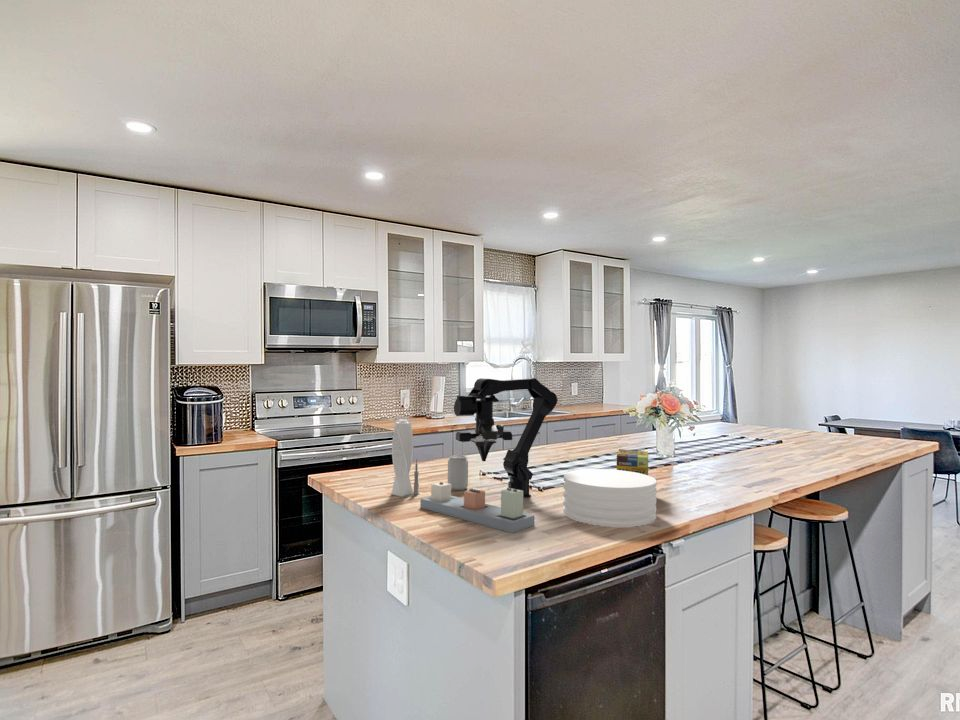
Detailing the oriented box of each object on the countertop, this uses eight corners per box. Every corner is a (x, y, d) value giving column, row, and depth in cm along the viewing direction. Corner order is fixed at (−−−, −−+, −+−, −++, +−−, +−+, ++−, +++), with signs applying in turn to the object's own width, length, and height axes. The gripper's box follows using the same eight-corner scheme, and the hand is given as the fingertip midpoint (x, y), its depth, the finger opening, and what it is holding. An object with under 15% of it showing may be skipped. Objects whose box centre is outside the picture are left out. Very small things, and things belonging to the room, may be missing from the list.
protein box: (615, 500, 185) (616, 455, 185) (618, 491, 200) (618, 448, 200) (647, 503, 182) (648, 457, 182) (647, 493, 197) (648, 450, 197)
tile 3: (463, 514, 164) (464, 489, 164) (473, 511, 167) (474, 487, 167) (474, 517, 161) (475, 492, 161) (484, 514, 164) (485, 489, 164)
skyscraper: (402, 499, 184) (403, 417, 185) (386, 495, 189) (387, 415, 190) (419, 495, 191) (420, 415, 191) (403, 491, 196) (404, 413, 196)
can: (465, 491, 196) (465, 458, 196) (445, 490, 198) (445, 457, 198) (469, 487, 203) (470, 454, 203) (450, 485, 205) (450, 454, 205)
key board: (420, 507, 173) (420, 498, 173) (443, 502, 180) (443, 493, 180) (512, 533, 148) (512, 522, 148) (534, 525, 155) (534, 515, 155)
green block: (500, 515, 154) (501, 488, 154) (510, 512, 158) (511, 486, 158) (513, 518, 151) (513, 491, 151) (523, 515, 155) (523, 488, 155)
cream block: (431, 506, 174) (431, 482, 174) (441, 503, 177) (441, 480, 177) (440, 508, 171) (441, 484, 171) (450, 505, 174) (451, 482, 174)
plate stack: (545, 513, 169) (545, 476, 169) (595, 498, 188) (596, 465, 188) (625, 534, 149) (625, 492, 149) (672, 515, 168) (673, 478, 168)
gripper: (464, 418, 174) (464, 466, 174) (518, 417, 180) (518, 464, 180) (455, 414, 185) (454, 460, 185) (506, 414, 191) (506, 458, 190)
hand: (483, 461), depth 185 cm, fingers closed
